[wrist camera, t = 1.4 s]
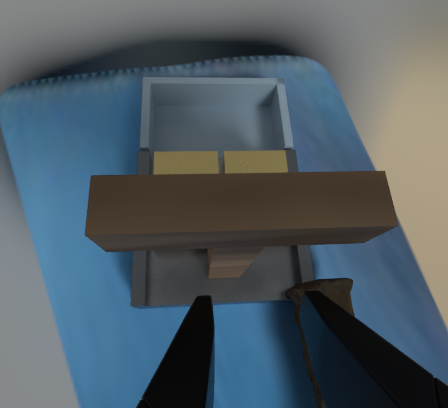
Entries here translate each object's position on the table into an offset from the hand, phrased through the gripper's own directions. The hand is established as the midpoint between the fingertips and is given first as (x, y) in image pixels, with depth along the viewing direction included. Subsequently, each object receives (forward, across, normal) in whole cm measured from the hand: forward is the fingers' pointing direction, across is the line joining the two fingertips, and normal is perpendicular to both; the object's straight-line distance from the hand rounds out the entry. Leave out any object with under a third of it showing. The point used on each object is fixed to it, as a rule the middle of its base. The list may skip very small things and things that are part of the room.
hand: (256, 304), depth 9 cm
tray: (+20, 0, -1) cm, 20 cm away
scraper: (+11, 0, +5) cm, 12 cm away
